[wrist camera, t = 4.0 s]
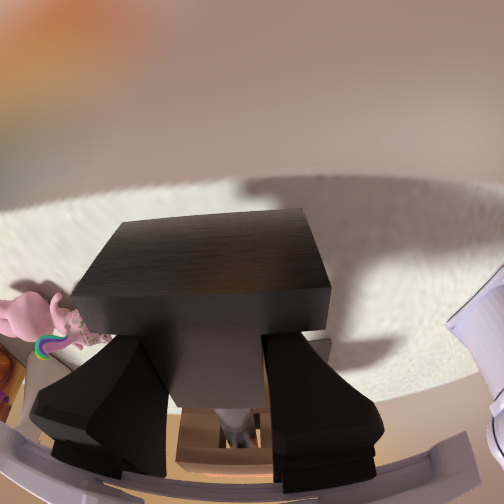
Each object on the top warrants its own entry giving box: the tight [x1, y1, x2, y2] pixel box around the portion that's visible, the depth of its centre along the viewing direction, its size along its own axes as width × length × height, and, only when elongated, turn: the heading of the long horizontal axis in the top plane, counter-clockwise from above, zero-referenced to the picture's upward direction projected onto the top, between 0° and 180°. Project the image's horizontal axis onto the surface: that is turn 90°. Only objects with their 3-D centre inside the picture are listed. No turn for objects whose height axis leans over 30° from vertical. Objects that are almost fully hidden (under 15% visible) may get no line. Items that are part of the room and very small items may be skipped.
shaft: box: [70, 209, 332, 448], centre depth 13 cm, size 18×7×4 cm, turn 4°
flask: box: [15, 350, 71, 443], centre depth 21 cm, size 7×7×10 cm
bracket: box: [175, 354, 273, 475], centre depth 18 cm, size 3×8×9 cm, turn 94°
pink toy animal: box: [0, 291, 112, 360], centre depth 17 cm, size 6×6×15 cm
